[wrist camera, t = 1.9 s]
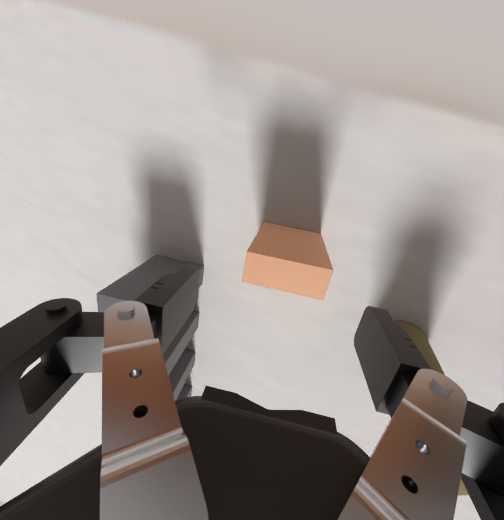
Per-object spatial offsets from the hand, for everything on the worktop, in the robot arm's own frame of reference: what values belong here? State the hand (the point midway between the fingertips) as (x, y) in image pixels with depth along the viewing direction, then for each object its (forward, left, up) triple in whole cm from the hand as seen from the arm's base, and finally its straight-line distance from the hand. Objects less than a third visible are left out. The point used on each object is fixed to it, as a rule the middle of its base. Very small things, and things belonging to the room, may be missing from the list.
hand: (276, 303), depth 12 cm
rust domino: (0, 0, -11) cm, 11 cm away
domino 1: (+10, +5, -11) cm, 16 cm away
